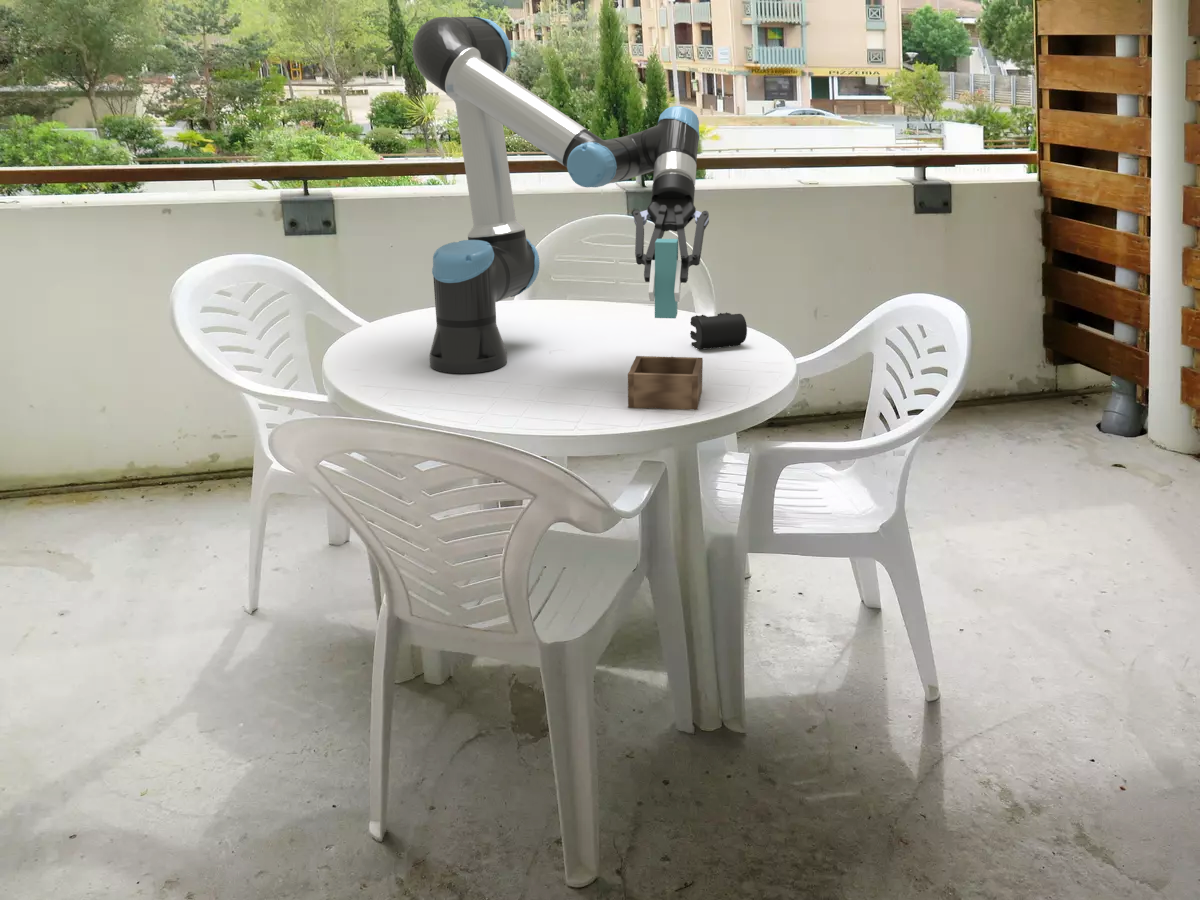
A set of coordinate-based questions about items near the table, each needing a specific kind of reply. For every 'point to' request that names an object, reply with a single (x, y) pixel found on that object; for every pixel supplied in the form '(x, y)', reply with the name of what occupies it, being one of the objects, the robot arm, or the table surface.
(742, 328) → the end cap
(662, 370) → the box
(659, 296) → the peg
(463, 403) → the table surface
